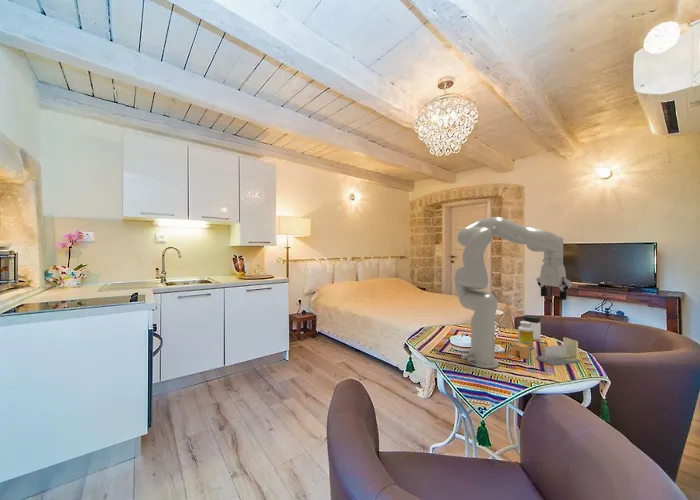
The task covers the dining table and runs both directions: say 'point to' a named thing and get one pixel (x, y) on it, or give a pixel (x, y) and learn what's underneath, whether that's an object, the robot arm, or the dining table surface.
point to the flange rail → (561, 353)
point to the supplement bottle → (525, 334)
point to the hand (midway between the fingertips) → (553, 297)
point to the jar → (534, 325)
